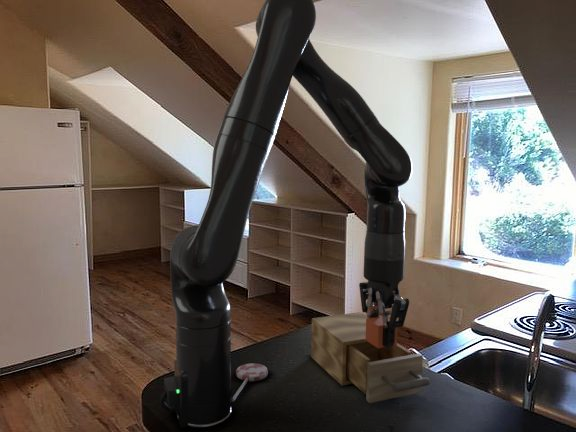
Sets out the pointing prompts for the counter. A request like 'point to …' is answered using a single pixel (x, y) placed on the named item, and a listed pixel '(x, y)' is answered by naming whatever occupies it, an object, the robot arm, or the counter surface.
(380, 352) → the drawer
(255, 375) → the lollipop
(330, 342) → the cabinet
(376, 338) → the block
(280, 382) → the counter surface
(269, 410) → the counter surface
